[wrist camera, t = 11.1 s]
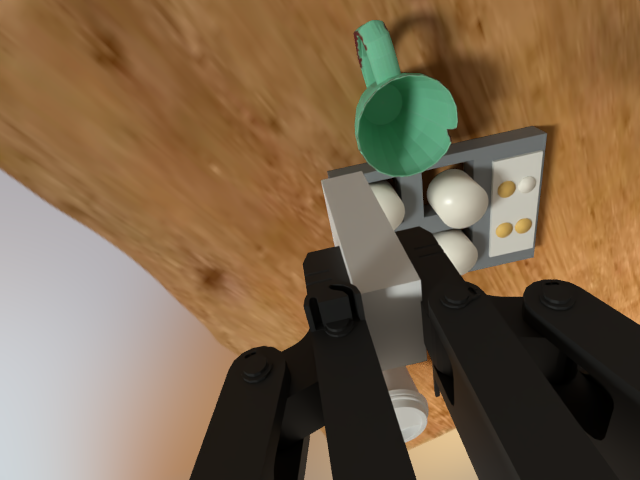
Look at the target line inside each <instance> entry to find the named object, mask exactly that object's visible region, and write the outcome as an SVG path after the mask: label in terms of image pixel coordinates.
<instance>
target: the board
mask: <svg viewBox="0 0 640 480" xmlns="http://www.w3.org/2000/svg"><path fill="white" fill-rule="evenodd" d="M546 138H547V133H546V132H544V131H542V130H540V129H538V128H536V127H534V126H530V127H526V128H521V129H517V130H512V131H508V132H503V133H499V134H494V135H490V136H485V137H481V138H476V139H472V140H467V141H463V142H458V143H454V144H451V145H450V147H449V149H448V151H447V152H446V154H445V155H444V156H443V157H442V158H441V159H440V160H439V161H438V162H437V163H436V164H435V165H433V166H432V167H430V168H429V169H427V170H430V169H434V168H439V167H443V166H448V165H452V164H457V163H461V162H463V171H464V172H465V173H466V174H468V175H469V176H470V177H471V178H472V179H473V180H474V181H475V182H476V183H477V184H479V185H480V186H481V187H482V188H483V189H484V190H485V191H486V193H487V195H488V207H487V210H486V212H485V214H484V215H483V216H482V218H481V219H480V220H479V221H477V222H476V223H475V224H473V225H471V226H469V227H466V228H463V233H464V234H465V235H466V236H467V237H468V239H469V240H470V241H471V242H472V243H473V245H474V246H475V247H476V249H477V251H478V258H477V261H476V263H475V265H474V266H473V268H472V269H471V270H470V271H474V270H479V269H483V268H488V267H492V266H497V265H501V264H505V263H510V262H514V261H519V260H523V259H528V258H532V257H534V248H535V239H536V230H537V221H538V211H539V202H540V193H541V184H542V175H543V165H544V156H545V147H546ZM359 171H362V172H363V174H364V176H365V178H366V180H367V182H368V183H371V182H375V181H380V180H384V179H389V178H393V177H391V176H388V175H385V174H382V173H379V172H378V171H377V170H375V169H374V168H373V167H371V166H370V165H369V164H368V163H363V164H359V165H354V166H350V167H345V168H341V169H336V170H332V171H327V173H328V178H333V177H337V176H342V175H346V174H351V173H355V172H359ZM394 180H395V190H396V193H397V195H398V196H399V198H400V199H401V201H402V202H403V204H404V207H405V215H404V218H403V221H402V222H401V224H400V225H399V226H398V227H397V228H396V229H395V230H394V232H396V231H400V230H405V229H409V228H413V227H418V226H420V227H422V228H423V229H425V230H427V231H429V232H431V233H435V232H440V231H444V230H449V229H453V228H452V227H449V226H447V225H446V224H445V223H444V222H443V221H442V219H441V218H440V217H439V215H438V214H437V213H436V212H435V210H434V209H433V208H432V206H431V205H430V204H428V205H423V190H422V173H419V174H416V175H412V176H409V177H394ZM470 271H468V272H470Z"/></svg>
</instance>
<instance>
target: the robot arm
mask: <svg viewBox="0 0 640 480" xmlns="http://www.w3.org/2000/svg"><path fill="white" fill-rule="evenodd" d="M321 182H322V187H323V192H324V196H325V201H326V206H327V211H328V216H329V220H330V225H331V230H332V235H333V240H334V244H335V247H332V248H327V249H323V250H319V251H314V252H310V253H308V254H307V256H306V258H305V260H304V262H303V269H304V275H305V282H306V288H307V296H306V297H305V300H304V310H305V313H306V317H307V320H308V324H309V327H310V329H309V331H308V332H307V334H306V335H305V337H304V338H303V339H302V340H301V341H299V342H298V343H297V344H295V345H293V346H292V347H290V348H288V349H286V350H284V351H282V352H281V351H279V350H277V349H275V348H274V347H267V346H261V347H256V348H252V349H250V350H248V351H246V352H244V353H242V354H241V355H240V356H239V357H238V358H237V359H236V360H234V362H233V364H232V365H231V367H230V369H229V371H228V374H227V377H226V379H225V382H224V385H223V387H222V390H221V393H220V396H219V398H218V401H217V404H216V407H215V410H214V412H213V415H212V418H211V421H210V424H209V426H208V429H207V432H206V435H205V437H204V440H203V443H202V446H201V449H200V451H199V454H198V457H197V460H196V463H195V465H194V468H193V471H192V474H191V477H190V479H189V480H304V475H305V469H306V462H307V454H308V447H309V440H310V434H311V433H313V432H315V431H316V430H318V429H320V428H322V427H323V426H325V430H326V437H327V443H328V449H329V457H330V463H331V470H332V476H333V480H416V476H415V473H414V470H413V467H412V464H411V461H410V458H409V454H408V451H407V448H406V445H405V442H404V439H403V435H402V432H401V429H400V426H399V423H398V420H397V417H396V413H395V410H394V407H393V404H392V401H391V398H390V395H389V391H388V388H387V385H386V382H385V379H384V376H383V373H382V371H384V370H389V369H393V368H397V367H402V366H406V365H410V364H415V363H419V362H423V361H427V353H426V349H427V351H428V353H429V355H430V357H431V360H432V364H433V379H434V391H435V396H436V397H438V396H440V392H441V394H442V396H443V399H444V401H445V403H446V406H447V408H448V410H449V412H450V415H451V417H452V419H453V422H454V424H455V426H456V428H457V431H458V433H459V435H460V438H461V440H462V442H463V444H464V447H465V449H466V451H467V454H468V456H469V458H470V460H471V463H472V465H473V467H474V470H475V472H476V474H477V476H478V479H479V480H640V325H639V324H637V323H636V322H634V321H633V320H631V319H629V318H628V317H626V316H625V315H623V314H621V313H620V312H618V311H617V310H615V309H614V308H612V307H610V306H609V305H607V304H606V303H604V302H603V301H601V300H599V299H598V298H596V297H595V296H593V295H592V294H590V293H588V292H587V291H585V290H584V289H582V288H580V287H578V286H576V285H574V284H572V283H570V282H566V281H561V280H541V281H537V282H533V283H532V284H531V285H529V286H528V287H526V289H525V292H524V294H523V297H498V296H490V295H486V294H485V293H484V291H482V290H481V289H480V288H479V287H478V286H476V285H474V284H472V283H469V282H465V281H464V279H463V278H462V277H461V275H460V274H459V272H458V271H457V269H456V268H455V266H454V265H453V263H452V262H451V260H450V259H449V258H448V256H447V255H446V253H444V250H443V249H442V247H441V246H440V245H439V244H438V242H437V240H436V239H435V237H434V236H433V234H432V233H431V232H429V231H427V230H425V229H423V228H422V227H420V226H418V227H413V228H409V229H405V230H400V231H396V232H394V230H393V228H392V226H391V224H390V222H389V221H388V219H387V217H386V215H385V213H384V211H383V209H382V208H381V206H380V204H379V202H378V200H377V198H376V197H375V195H374V193H373V191H372V189H371V187H370V185H369V184H368V182H367V180H366V178H365V176H364V174H363V172H362V171H359V172H355V173H351V174H346V175H342V176H337V177H333V178H329V179H324V180H321Z"/></svg>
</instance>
